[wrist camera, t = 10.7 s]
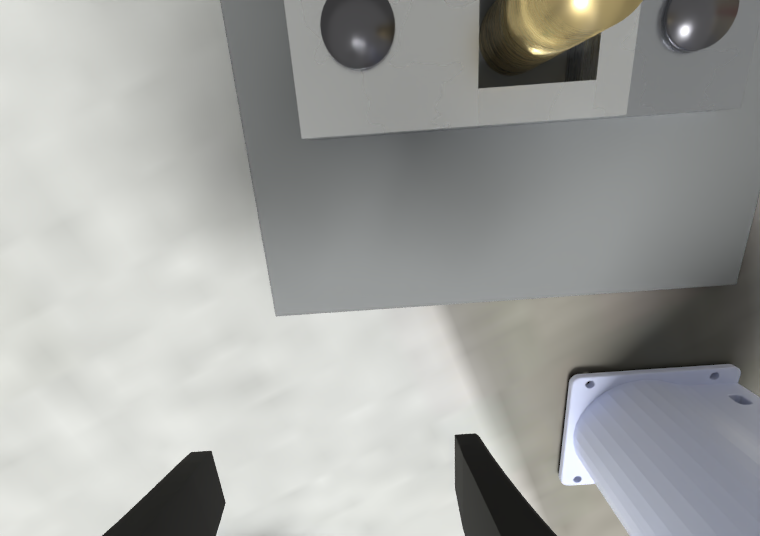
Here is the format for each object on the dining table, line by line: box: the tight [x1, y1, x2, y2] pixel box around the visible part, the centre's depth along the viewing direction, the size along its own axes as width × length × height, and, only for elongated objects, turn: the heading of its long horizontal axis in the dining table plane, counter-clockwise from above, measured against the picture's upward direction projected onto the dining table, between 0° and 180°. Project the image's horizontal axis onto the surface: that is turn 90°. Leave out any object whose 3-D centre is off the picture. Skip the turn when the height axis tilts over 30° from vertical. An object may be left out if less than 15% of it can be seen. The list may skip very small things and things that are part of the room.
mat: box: [220, 0, 760, 316], centre depth 16 cm, size 24×18×1 cm
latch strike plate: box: [284, 0, 760, 141], centre depth 14 cm, size 18×7×3 cm, turn 94°
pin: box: [479, 0, 643, 76], centre depth 12 cm, size 3×3×6 cm
